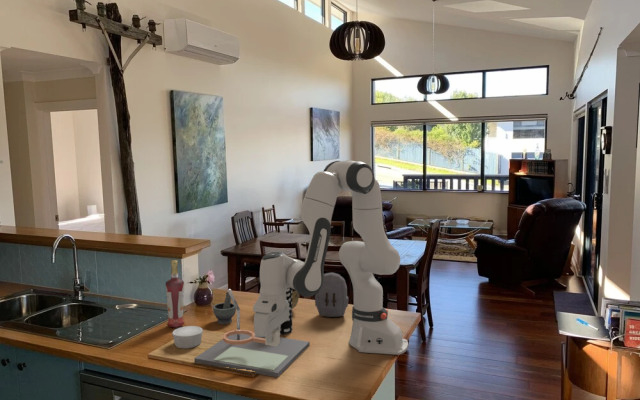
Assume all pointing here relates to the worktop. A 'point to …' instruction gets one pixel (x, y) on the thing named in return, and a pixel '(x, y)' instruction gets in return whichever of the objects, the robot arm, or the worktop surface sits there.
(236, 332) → the ring wand
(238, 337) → the bent wire
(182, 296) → the liquor
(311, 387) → the worktop surface
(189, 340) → the ramekin
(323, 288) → the grey rounded bag
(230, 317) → the mortar and pestle
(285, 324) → the white-spotted black cylinder
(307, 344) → the wire board
